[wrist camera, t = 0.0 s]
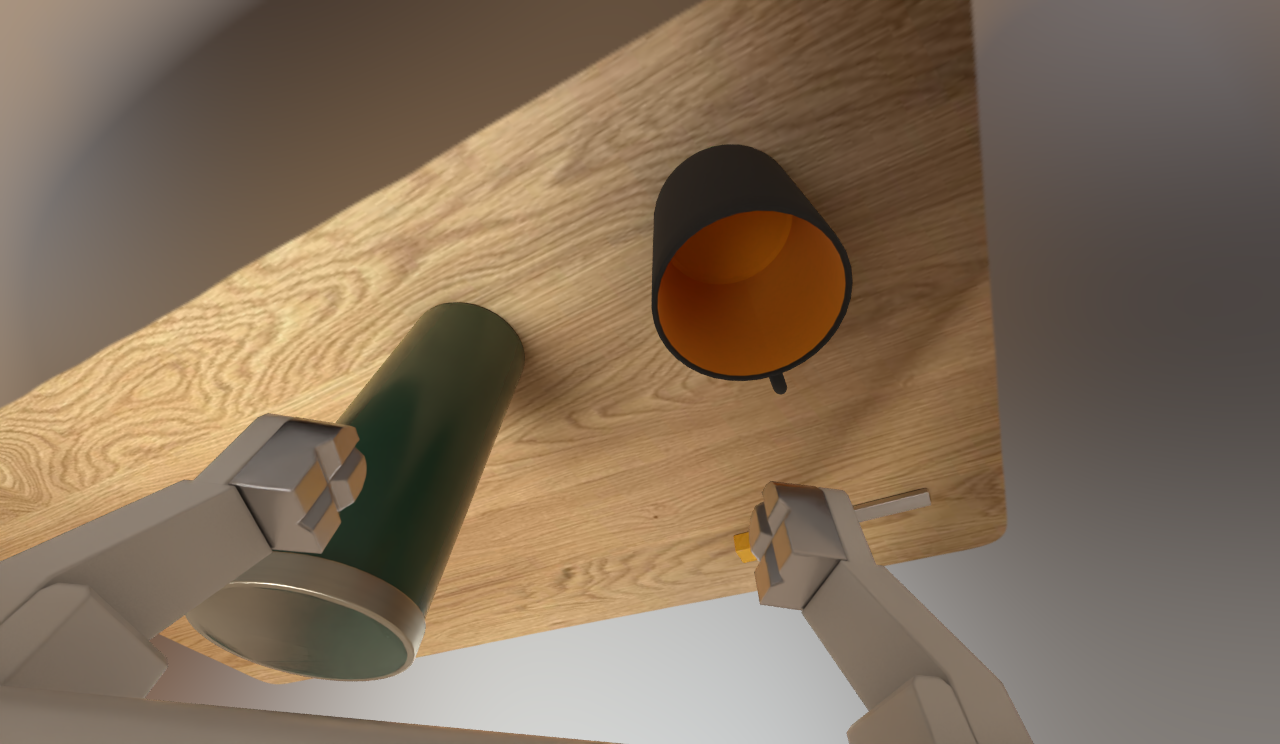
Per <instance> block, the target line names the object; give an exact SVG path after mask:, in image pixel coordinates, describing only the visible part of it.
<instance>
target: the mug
mask: <svg viewBox="0 0 1280 744" xmlns="http://www.w3.org/2000/svg"><path fill="white" fill-rule="evenodd" d="M852 283H853V282H852V271H851V265H850V262H849V259H848V255H847V252H846V250H845V249H844V247H843V245H842V243H841V242H840V240H839V238H838V237H837V236H836V234H835V233H834V232H833V230H832V229H831V228H830V227H829V225H828V224H827V223H826V222H825V220H824V219H823V218H822V217H821V215H820V214H819V213H818V212H817V210H816V209H815V208H814V207H813V206H812V204H811V203H810V202H809V201H808V199H807V198H806V197H805V196H804V194H803V193H802V192H801V191H800V190H799V188H798V187H797V186H796V185H795V183H794V182H793V181H792V180H791V178H790V177H789V176H788V175H787V174H786V172H785V171H784V170H783V169H782V168H781V167H780V166H779V164H778V163H777V162H776V161H775V160H774V159H772V158H771V157H769V156H768V155H767V154H765V153H763V152H761V151H759V150H757V149H754V148H752V147H747V146H742V145H720V146H714V147H711V148H708V149H705V150H702V151H700V152H698V153H696V154H694V155H693V156H691V157H689V158H687V159H686V160H685V161H684V162H683V163H681V164H680V165H679V166H678V167H677V168H676V169H675V170H674V171H673V172H672V174H671V175H670V176H669V177H668V179H667V180H666V182H665V184H664V185H663V187H662V189H661V191H660V194H659V196H658V199H657V202H656V207H655V211H654V233H653V267H652V314H653V320H654V324H655V327H656V329H657V332H658V334H659V337H660V338H661V340H662V341H663V343H664V345H665V346H666V348H667V349H668V350H669V351H670V352H671V353H672V354H673V355H674V356H675V357H676V358H677V359H678V360H679V361H681V362H682V363H683V364H685V365H686V366H687V367H689V368H691V369H693V370H695V371H697V372H699V373H701V374H704V375H707V376H710V377H713V378H718V379H724V380H731V381H748V380H757V379H763V378H767V377H769V379H770V381H771V384H772V387H773V389H774V391H775V392H776V393H777V394H784V393H785V392H786V390H787V385H786V382H785V379H784V376H783V372H785V371H788V370H790V369H792V368H794V367H796V366H798V365H800V364H801V363H803V362H805V361H806V360H808V359H809V358H810V357H812V356H813V355H814V354H816V353H817V352H818V351H819V350H820V349H821V348H822V347H823V346H824V345H825V344H826V343H827V342H828V341H829V340H830V339H831V337H832V336H833V335H834V333H835V332H836V331H837V329H838V328H839V326H840V324H841V322H842V320H843V318H844V316H845V315H846V312H847V309H848V305H849V302H850V299H851V292H852Z"/></svg>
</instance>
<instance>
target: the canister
mask: <svg viewBox="0 0 1280 744" xmlns="http://www.w3.org/2000/svg"><path fill="white" fill-rule="evenodd" d="M524 362H525V356H524V350H523V346H522V344H521V341H520V339H519V337H518V336H517V334H516V333H515V331H514V330H513V329H512V328H511V327H510V325H509V324H508V323H506V322H505V321H504V320H503V319H502V318H500V317H499V316H498V315H496V314H494V313H493V312H491V311H489V310H487V309H484V308H482V307H479V306H476V305H472V304H467V303H446V304H442V305H438V306H436V307H433V308H431V309H430V310H428V311H427V312H425V313H424V314H423V315H422V316H421V317H420V319H419V320H418V321H417V322H416V324H415V325H414V326H413V327H412V329H411V330H410V331H409V332H408V334H407V335H406V336H405V337H404V339H403V340H402V341H401V342H400V344H399V345H398V346H397V347H396V348H395V350H394V351H393V352H392V353H391V355H390V356H389V357H388V358H387V360H386V361H385V362H384V363H383V365H382V366H381V367H380V368H379V370H378V371H377V372H376V373H375V375H374V376H373V377H372V378H371V380H370V381H369V382H368V383H367V384H366V386H365V387H364V388H363V389H362V391H361V392H360V393H359V394H358V396H357V397H356V398H355V399H354V401H353V402H352V403H351V404H350V406H349V407H348V408H347V409H346V411H345V412H344V413H343V414H342V416H341V417H340V418H339V419H338V420H337V422H336V424H343V425H349V426H352V427H355V428H356V431H357V434H358V437H359V441H358V442H357V444H356V445H355V446H354V447H355V448H356V449H357V450H359V451H360V452H361V453H362V454H363V455H364V457H365V460H366V464H367V467H366V478H365V481H364V484H363V487H362V490H361V492H360V493H359V495H358V497H357V498H356V500H355V502H354V503H352V504H351V505H349V506H347V507H346V508H344V509H342V510H341V511H339V512H340V518H341V524H340V525H339V527H338V528H337V530H336V532H335V533H334V535H333V536H332V538H331V539H330V541H329V542H328V544H327V546H326V547H325V549H324V550H323V552H322V553H321V554H318V553H307V552H295V551H284V550H273V549H271V550H272V553H271V554H269V555H268V556H266V557H265V558H264V559H262V560H261V561H259V562H258V563H257V564H255V565H254V566H252V567H251V568H250V569H248V570H247V571H245V572H244V573H243V574H241V575H240V576H238V577H237V578H236V579H234V580H233V581H231V582H230V583H229V584H227V585H226V586H224V587H223V588H222V589H220V590H219V591H217V592H216V593H215V594H213V595H212V596H210V597H209V598H208V599H206V600H205V601H203V602H202V603H201V604H199V605H198V606H196V607H195V608H194V609H192V610H191V611H189V612H188V613H187V614H185V616H186V618H187V620H188V621H189V623H190V624H191V625H192V626H193V627H194V628H195V629H196V630H197V631H198V632H199V633H200V634H201V635H202V636H204V637H205V638H206V639H208V640H209V641H211V642H212V643H214V644H215V645H217V646H219V647H221V648H222V649H224V650H226V651H228V652H230V653H232V654H234V655H236V656H239V657H241V658H243V659H246V660H248V661H251V662H254V663H256V664H259V665H262V666H265V667H268V668H272V669H275V670H279V671H282V672H286V673H290V674H295V675H300V676H305V677H311V678H317V679H325V680H336V681H369V680H378V679H384V678H388V677H392V676H395V675H397V674H400V673H402V672H403V671H405V670H406V669H407V668H408V667H410V666H411V665H412V663H413V661H414V659H415V657H416V654H417V651H418V649H419V646H420V644H421V641H422V638H423V636H424V633H425V629H426V624H425V618H426V615H427V613H428V610H429V607H430V605H431V602H432V600H433V597H434V595H435V592H436V590H437V587H438V585H439V582H440V579H441V577H442V574H443V572H444V569H445V567H446V564H447V562H448V559H449V557H450V554H451V552H452V549H453V546H454V544H455V541H456V539H457V536H458V534H459V531H460V529H461V526H462V524H463V521H464V518H465V516H466V513H467V511H468V508H469V506H470V503H471V501H472V498H473V496H474V493H475V490H476V488H477V485H478V483H479V480H480V478H481V475H482V473H483V470H484V468H485V465H486V462H487V460H488V457H489V455H490V452H491V450H492V447H493V445H494V442H495V440H496V437H497V434H498V432H499V429H500V427H501V424H502V422H503V419H504V417H505V414H506V412H507V409H508V406H509V404H510V401H511V399H512V396H513V394H514V391H515V389H516V386H517V384H518V381H519V378H520V376H521V373H522V371H523V367H524Z"/></svg>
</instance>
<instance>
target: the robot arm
mask: <svg viewBox="0 0 1280 744" xmlns="http://www.w3.org/2000/svg"><path fill="white" fill-rule="evenodd" d="M358 441H359V437H358V434H357V431H356V428H355V427H352V426H349V425H343V424H336V423H330V422H324V421H317V420H311V419H305V418H299V417H290V416H284V415H277V414H270V413H267V414H265V415H263V416H260V417H258V418H257V419H256V420H255V421H253V422H252V423H251V424H250V425H249V426H248V427H247V428H246V429H245V430H244V431H243V432H242V433H241V434H240V435H239V436H238V437H237V438H236V439H235V440H234V441H233V442H232V443H231V444H230V445H229V446H228V447H227V448H226V449H225V450H224V451H223V452H222V453H221V454H220V455H219V456H218V457H217V458H216V459H215V460H214V461H213V462H212V463H211V464H210V465H208V466H207V467H206V468H205V469H204V470H203V471H202V472H201V473H200V474H199V475H198V476H197V477H196V478H195V479H194V480H182V481H180V482H177V483H175V484H173V485H171V486H168V487H166V488H164V489H162V490H160V491H157V492H155V493H153V494H151V495H148V496H146V497H144V498H142V499H139V500H137V501H135V502H133V503H130V504H128V505H126V506H124V507H121V508H119V509H117V510H115V511H113V512H110V513H108V514H106V515H104V516H101V517H99V518H97V519H95V520H92V521H90V522H88V523H86V524H83V525H81V526H79V527H77V528H75V529H72V530H70V531H68V532H66V533H63V534H61V535H59V536H57V537H54V538H52V539H50V540H48V541H45V542H43V543H41V544H39V545H37V546H34V547H32V548H30V549H28V550H25V551H23V552H21V553H19V554H16V555H14V556H12V557H10V558H7V559H5V560H3V561H1V562H0V744H621V743H610V742H599V741H589V740H578V739H568V738H557V737H545V736H536V735H525V734H514V733H503V732H493V731H482V730H470V729H461V728H450V727H439V726H429V725H418V724H407V723H396V722H385V721H375V720H364V719H353V718H343V717H332V716H321V715H311V714H300V713H289V712H277V711H267V710H257V709H247V708H235V707H225V706H214V705H204V704H192V703H181V702H172V701H161V700H150V699H144V698H145V697H146V696H147V694H148V693H149V692H150V690H151V689H152V688H153V686H154V685H155V684H156V682H157V681H158V680H159V678H160V677H161V676H162V674H163V673H164V672H165V670H166V669H167V667H168V661H167V657H166V656H164V654H162V653H161V652H160V651H159V650H158V649H157V648H156V647H155V646H154V645H153V644H152V643H150V642H149V640H150V639H152V638H153V637H154V636H156V635H157V634H159V633H160V632H161V631H163V630H164V629H166V628H167V627H168V626H170V625H171V624H173V623H174V622H175V621H177V620H178V619H180V618H181V617H182V616H184V615H185V614H187V613H188V612H189V611H191V610H192V609H194V608H195V607H196V606H198V605H199V604H201V603H202V602H203V601H205V600H206V599H208V598H209V597H210V596H212V595H213V594H215V593H216V592H217V591H219V590H220V589H222V588H223V587H224V586H226V585H227V584H229V583H230V582H231V581H233V580H234V579H236V578H237V577H238V576H240V575H241V574H243V573H244V572H245V571H247V570H248V569H250V568H251V567H252V566H254V565H255V564H257V563H258V562H259V561H261V560H262V559H264V558H265V557H266V556H268V555H269V554H271V553H272V550H271V549H273V550H284V551H295V552H307V553H318V554H321V553H322V552H323V550H324V549H325V547H326V546H327V544H328V542H329V541H330V539H331V538H332V536H333V535H334V533H335V532H336V530H337V528H338V527H339V525H340V524H341V518H340V512H339V511H341V510H342V509H344V508H346V507H347V506H349V505H351V504H352V503H354V502H355V500H356V498H357V497H358V495H359V493H360V492H361V490H362V487H363V484H364V481H365V478H366V467H367V464H366V460H365V457H364V455H363V454H362V453H361V452H360V451H359V450H357V449H356V448H355V447H354V446H355V445H356V444H357V442H358ZM762 495H763V500H764V501H763V502H762V503H760V504H758V505H756V506H755V508H754V510H753V512H752V515H751V518H750V524H749V543H750V549H751V552H752V553H753V555H754V556H755V557H756V558H757V559H758V561H759V562H760V563H759V564H758V566H757V568H756V570H755V572H754V573H755V579H756V584H757V590H758V595H759V601H760V605H768V606H774V607H781V608H788V609H795V610H802V614H803V616H804V617H805V619H806V620H807V622H808V623H809V625H810V626H811V627H812V629H813V630H814V632H815V633H816V635H817V636H818V638H819V639H820V641H821V642H822V643H823V645H824V646H825V648H826V649H827V651H828V652H829V654H830V655H831V656H832V658H833V659H834V661H835V662H836V664H837V665H838V667H839V668H840V670H841V671H842V673H843V674H844V675H845V677H846V678H847V680H848V681H849V683H850V684H851V686H852V687H853V689H854V690H855V691H856V693H857V694H858V696H859V697H860V699H861V700H862V702H863V703H864V705H865V706H866V708H867V709H868V711H869V712H868V713H866V714H865V715H864V716H863V717H861V718H860V719H859V720H858V721H856V722H855V723H854V724H852V726H851V727H850V728H849V730H848V731H847V737H848V741H849V744H1033V741H1032V740H1031V738H1030V736H1029V734H1028V732H1027V730H1026V728H1025V726H1024V724H1023V722H1022V720H1021V718H1020V716H1019V714H1018V712H1017V710H1016V708H1015V707H1014V705H1013V703H1012V701H1011V699H1010V697H1009V695H1008V693H1007V691H1006V689H1005V687H1004V685H1003V683H1002V682H1001V681H1000V680H999V679H998V678H997V677H996V676H995V675H994V674H993V673H992V672H991V671H990V670H989V669H988V668H987V667H986V666H985V665H984V664H983V663H982V662H981V661H980V660H979V659H978V658H977V657H976V656H975V655H974V654H973V653H972V652H971V651H970V650H969V649H968V648H967V647H966V646H965V645H964V644H963V643H962V642H961V641H959V639H957V638H956V637H955V636H954V635H953V634H952V633H951V632H950V631H949V630H948V629H947V628H946V627H945V626H944V625H943V624H942V623H941V622H940V621H939V620H938V619H937V618H936V617H935V616H934V615H933V614H932V613H931V612H930V611H929V610H928V609H927V608H926V607H925V606H924V605H923V604H922V603H921V602H920V601H919V600H918V599H917V598H916V597H915V596H914V595H913V594H912V593H911V592H910V591H909V590H907V588H906V587H905V586H903V584H901V583H900V582H899V581H898V580H897V579H896V578H895V577H894V576H893V575H892V574H891V573H890V572H889V571H888V570H887V569H886V568H885V567H884V566H881V565H876V563H875V561H874V558H873V556H872V553H871V551H870V548H869V546H868V543H867V541H866V538H865V536H864V534H863V531H862V529H861V526H860V524H859V521H858V519H857V516H856V514H855V511H854V509H853V506H852V504H851V501H850V499H849V496H848V495H847V494H846V493H845V491H844V490H837V489H829V488H821V487H818V488H817V487H816V486H808V485H799V484H791V483H783V482H774V481H770V482H769V483H767V484H766V486H765V487H764V489H763V491H762Z"/></svg>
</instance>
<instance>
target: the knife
mask: <svg viewBox="0 0 1280 744" xmlns="http://www.w3.org/2000/svg"><path fill="white" fill-rule="evenodd" d="M929 505H931V502H930V497H929V493H928V491H927V489H926V488H924V489H920V490H916V491H912V492H908V493H904V494H900V495H896V496H892V497H888V498H884V499H880V500H876V501H872V502H868V503H864V504H860V505H856V506H853V509H854V511H855V514H856V516H857V519H858V521H859V522H863V521H867V520H871V519H875V518H879V517H883V516H887V515H892V514H896V513H900V512H904V511H908V510H912V509H917V508H921V507H925V506H929ZM734 542H735V549H736V553H737V554H738V556H739V557H740V559H741V560H742V562H743V563H746V562H750V561H754V560H758V559H757V558H756V557H755V556H754V555H753V553H752V552H751V549H750V543H749V532H746V533H742V534H738V535H735V536H734Z"/></svg>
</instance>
